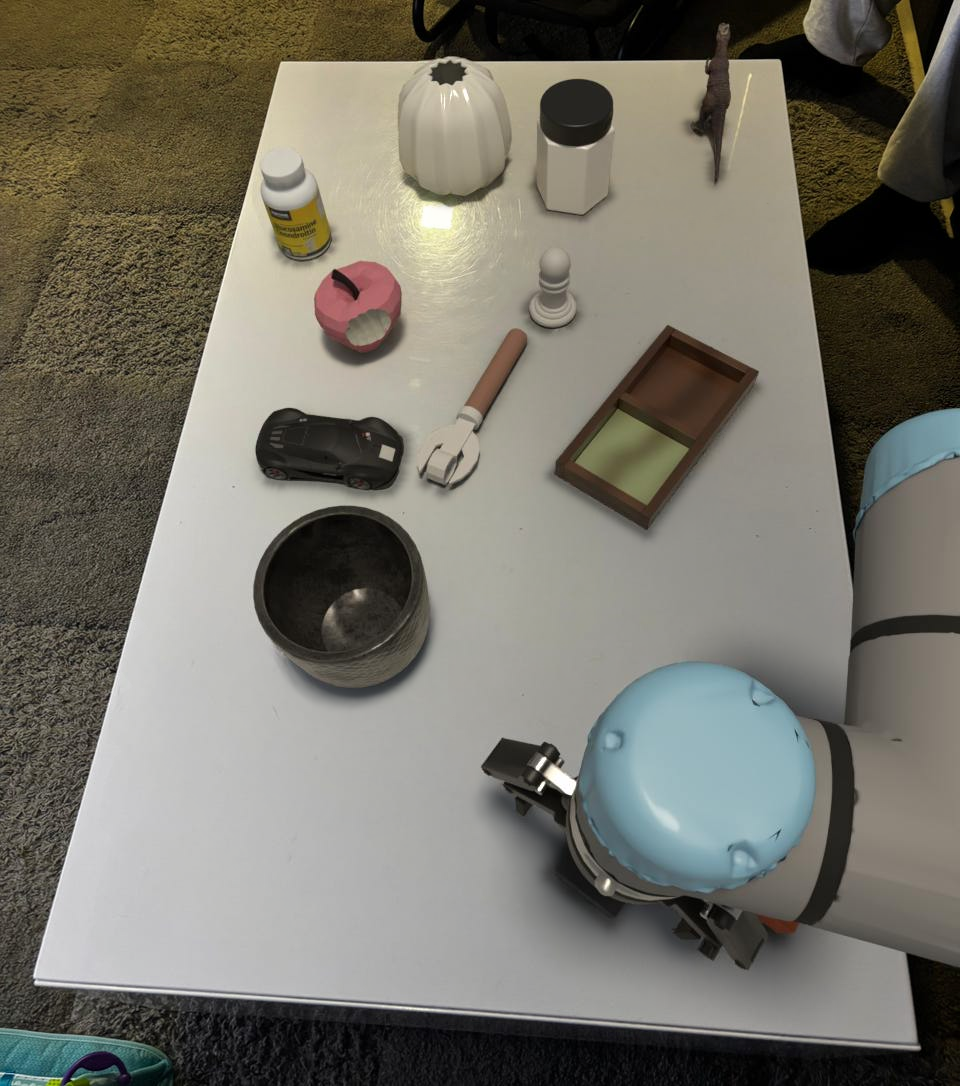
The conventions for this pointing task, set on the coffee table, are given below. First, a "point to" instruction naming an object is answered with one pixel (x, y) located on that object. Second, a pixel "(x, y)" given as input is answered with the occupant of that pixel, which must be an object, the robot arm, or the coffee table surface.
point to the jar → (574, 145)
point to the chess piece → (553, 290)
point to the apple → (358, 304)
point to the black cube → (586, 887)
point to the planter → (344, 595)
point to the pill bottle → (294, 204)
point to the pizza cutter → (469, 419)
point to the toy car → (329, 449)
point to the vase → (453, 127)
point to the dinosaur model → (716, 92)
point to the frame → (656, 425)
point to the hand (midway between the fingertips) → (606, 857)
